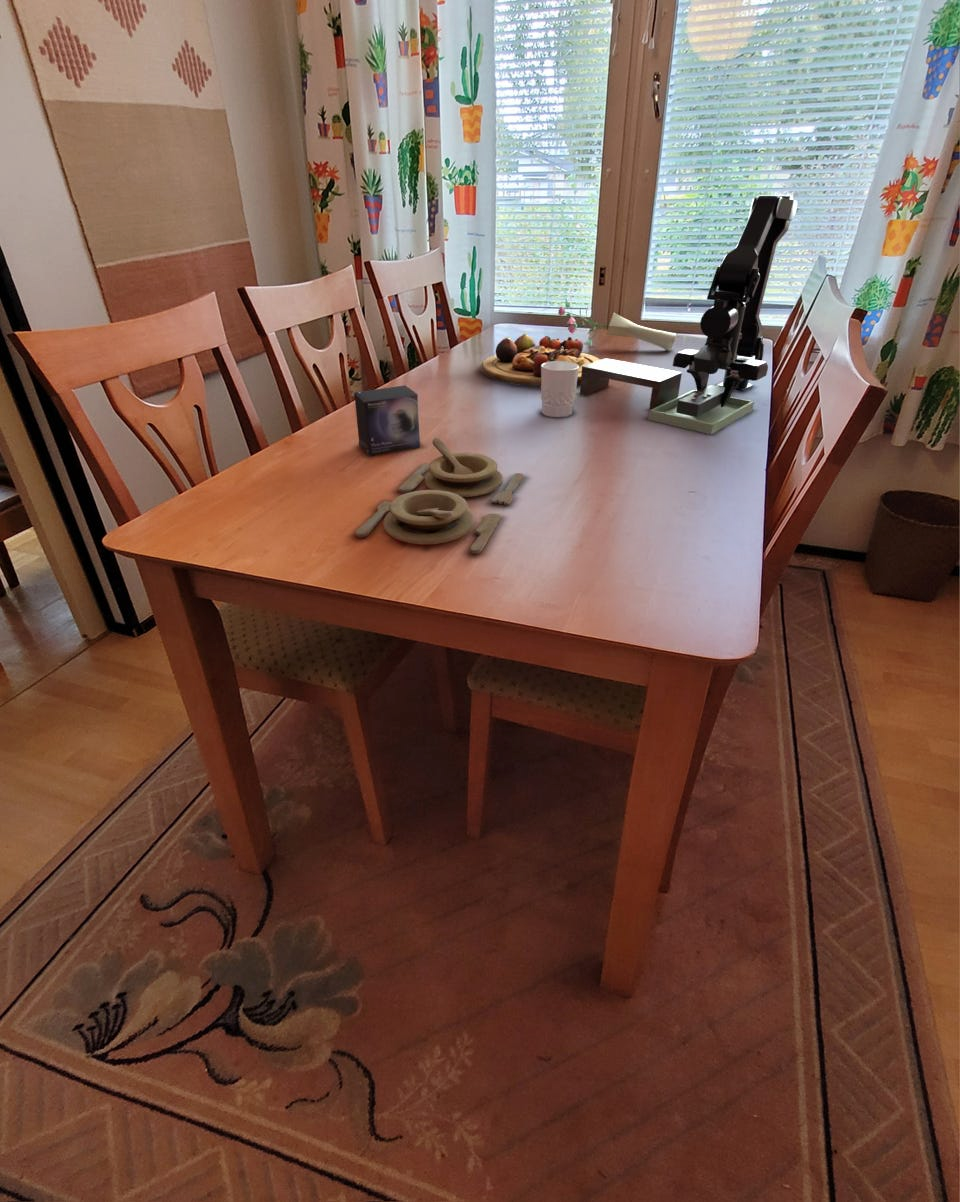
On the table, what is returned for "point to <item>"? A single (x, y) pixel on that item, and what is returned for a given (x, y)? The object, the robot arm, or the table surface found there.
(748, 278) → the robot arm
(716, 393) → the dark gray box
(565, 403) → the white cup
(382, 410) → the small box
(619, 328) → the flower vase
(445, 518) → the tableware set
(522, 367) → the wooden plate
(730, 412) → the tray
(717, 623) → the table surface
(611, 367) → the shelf
